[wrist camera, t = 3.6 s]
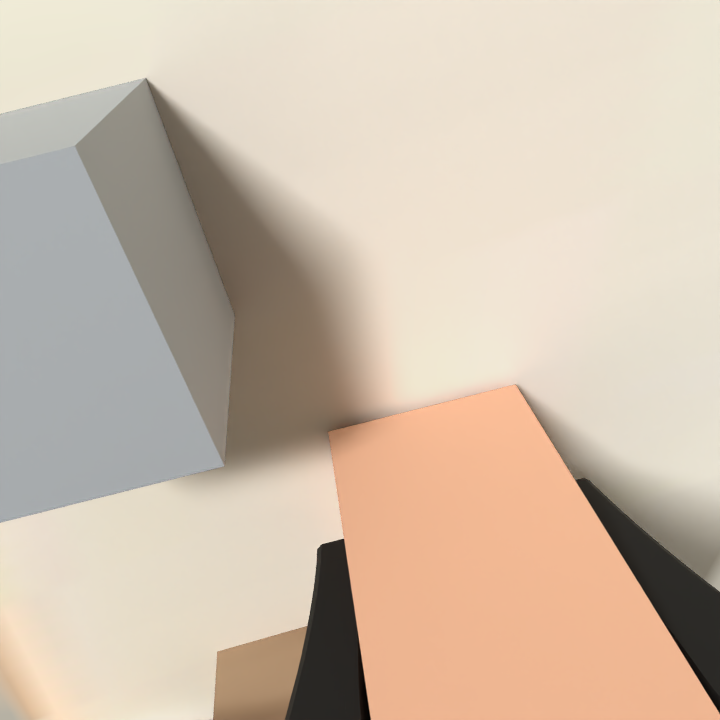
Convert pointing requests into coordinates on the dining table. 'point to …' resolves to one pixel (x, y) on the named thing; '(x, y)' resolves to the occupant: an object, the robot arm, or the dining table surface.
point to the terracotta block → (494, 577)
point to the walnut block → (258, 677)
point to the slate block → (104, 307)
